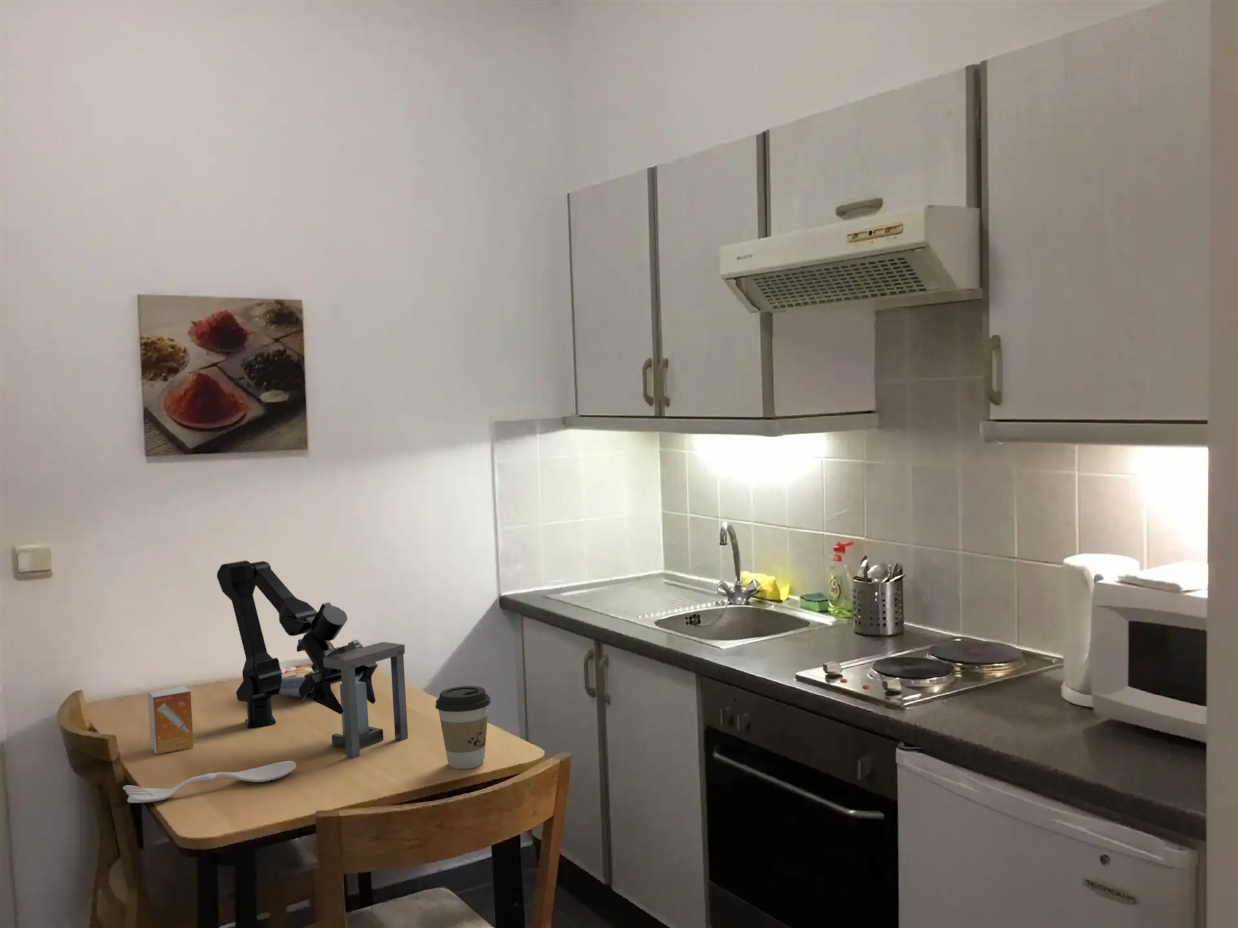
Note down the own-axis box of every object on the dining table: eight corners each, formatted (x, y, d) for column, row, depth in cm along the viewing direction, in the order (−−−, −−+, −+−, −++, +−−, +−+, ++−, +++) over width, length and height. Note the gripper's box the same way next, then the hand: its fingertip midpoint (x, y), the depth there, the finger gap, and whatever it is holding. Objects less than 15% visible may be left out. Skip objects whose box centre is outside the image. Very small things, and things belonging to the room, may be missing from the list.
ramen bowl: (285, 682, 303) (283, 653, 302) (364, 681, 300) (363, 652, 299) (242, 707, 278) (240, 675, 278) (328, 707, 275) (326, 674, 275)
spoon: (123, 801, 213) (122, 783, 213) (291, 768, 229) (290, 751, 228) (128, 815, 205) (127, 797, 205) (301, 779, 221) (300, 763, 221)
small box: (156, 755, 241) (152, 696, 240) (150, 748, 246) (146, 691, 245) (194, 747, 245) (191, 690, 245) (188, 741, 251) (184, 685, 250)
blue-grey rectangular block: (343, 742, 243) (339, 684, 242) (357, 737, 246) (353, 680, 246) (355, 745, 241) (352, 686, 240) (369, 740, 244) (366, 682, 243)
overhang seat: (313, 750, 239) (307, 655, 238) (372, 730, 253) (367, 639, 252) (350, 758, 232) (345, 660, 231) (409, 737, 246) (404, 644, 245)
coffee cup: (469, 775, 218) (465, 701, 217) (426, 768, 224) (422, 695, 223) (505, 758, 227) (501, 687, 226) (462, 751, 233) (459, 682, 233)
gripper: (303, 639, 237) (340, 695, 231) (369, 622, 252) (406, 675, 246) (282, 671, 242) (318, 727, 236) (348, 653, 257) (383, 705, 251)
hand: (358, 707), depth 242 cm, fingers open, 9 cm apart
